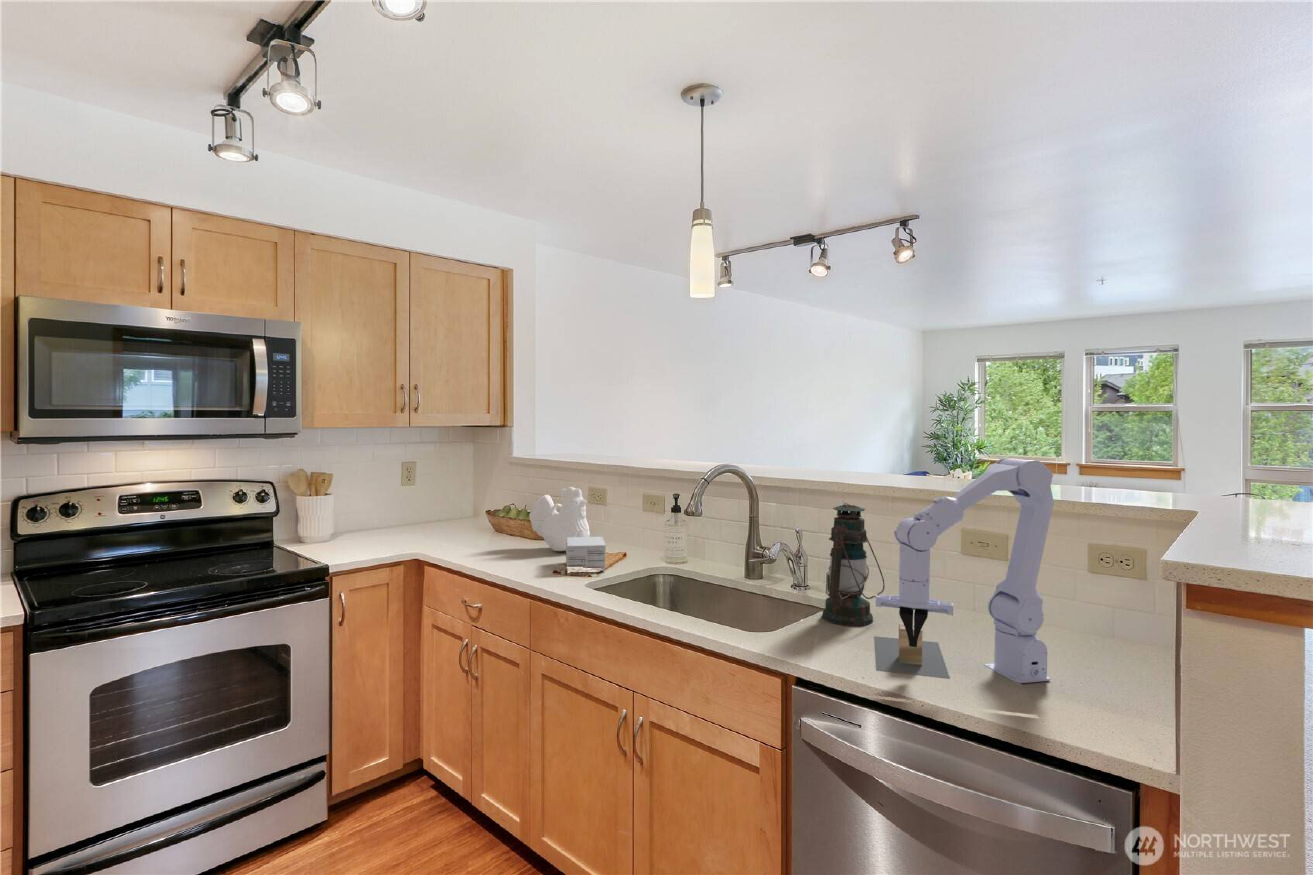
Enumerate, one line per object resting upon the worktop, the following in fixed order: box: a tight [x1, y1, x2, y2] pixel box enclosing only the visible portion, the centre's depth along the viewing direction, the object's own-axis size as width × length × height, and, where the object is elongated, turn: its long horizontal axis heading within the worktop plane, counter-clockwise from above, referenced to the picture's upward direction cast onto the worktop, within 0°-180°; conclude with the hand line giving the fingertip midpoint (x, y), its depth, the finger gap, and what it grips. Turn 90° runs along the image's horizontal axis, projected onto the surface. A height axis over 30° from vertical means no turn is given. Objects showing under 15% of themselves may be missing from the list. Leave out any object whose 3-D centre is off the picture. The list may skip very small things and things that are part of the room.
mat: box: [873, 635, 951, 680], centre depth 145 cm, size 22×14×1 cm, turn 163°
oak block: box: [898, 621, 924, 666], centre depth 141 cm, size 4×4×8 cm
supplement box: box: [565, 536, 607, 571], centre depth 229 cm, size 17×13×9 cm
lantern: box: [821, 502, 886, 627], centre depth 172 cm, size 19×14×30 cm
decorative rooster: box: [528, 486, 591, 552], centre depth 259 cm, size 25×16×25 cm, turn 56°
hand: (913, 645), depth 134 cm, fingers closed
